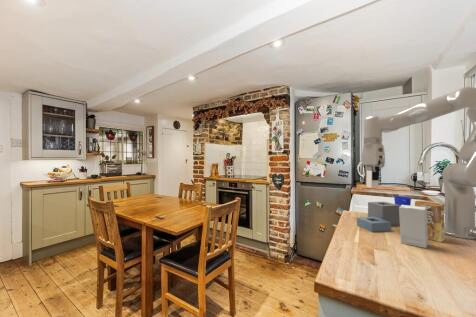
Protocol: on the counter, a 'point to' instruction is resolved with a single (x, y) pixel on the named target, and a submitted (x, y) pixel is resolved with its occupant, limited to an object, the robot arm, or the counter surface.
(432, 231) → the candy box
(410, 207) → the skincare box
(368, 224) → the low socket block
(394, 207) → the raised socket block
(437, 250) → the counter surface
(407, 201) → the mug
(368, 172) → the plug
